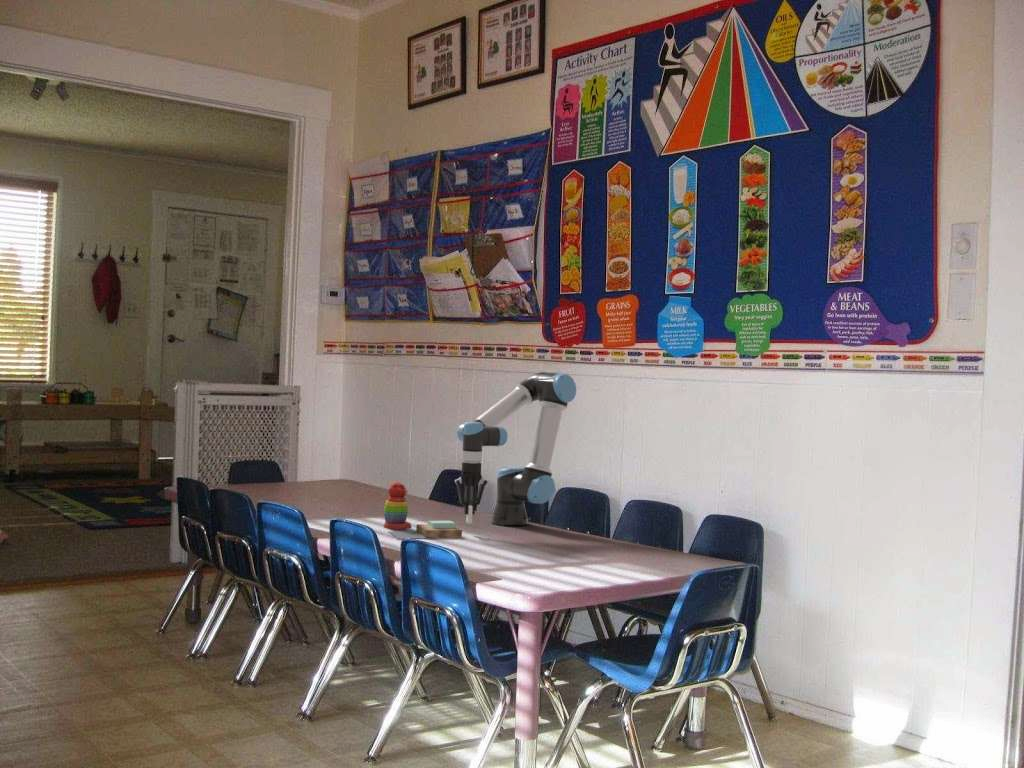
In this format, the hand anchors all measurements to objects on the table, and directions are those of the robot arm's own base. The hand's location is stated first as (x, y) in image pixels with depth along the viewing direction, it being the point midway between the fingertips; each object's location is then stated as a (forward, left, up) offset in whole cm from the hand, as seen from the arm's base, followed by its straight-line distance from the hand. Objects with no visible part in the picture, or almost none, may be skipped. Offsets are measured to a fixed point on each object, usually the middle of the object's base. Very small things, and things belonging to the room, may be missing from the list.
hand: (469, 522), depth 426 cm
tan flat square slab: (+12, 0, -5) cm, 13 cm away
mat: (+24, 0, -5) cm, 25 cm away
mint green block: (+11, 0, -2) cm, 11 cm away
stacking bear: (+24, -19, -5) cm, 31 cm away
